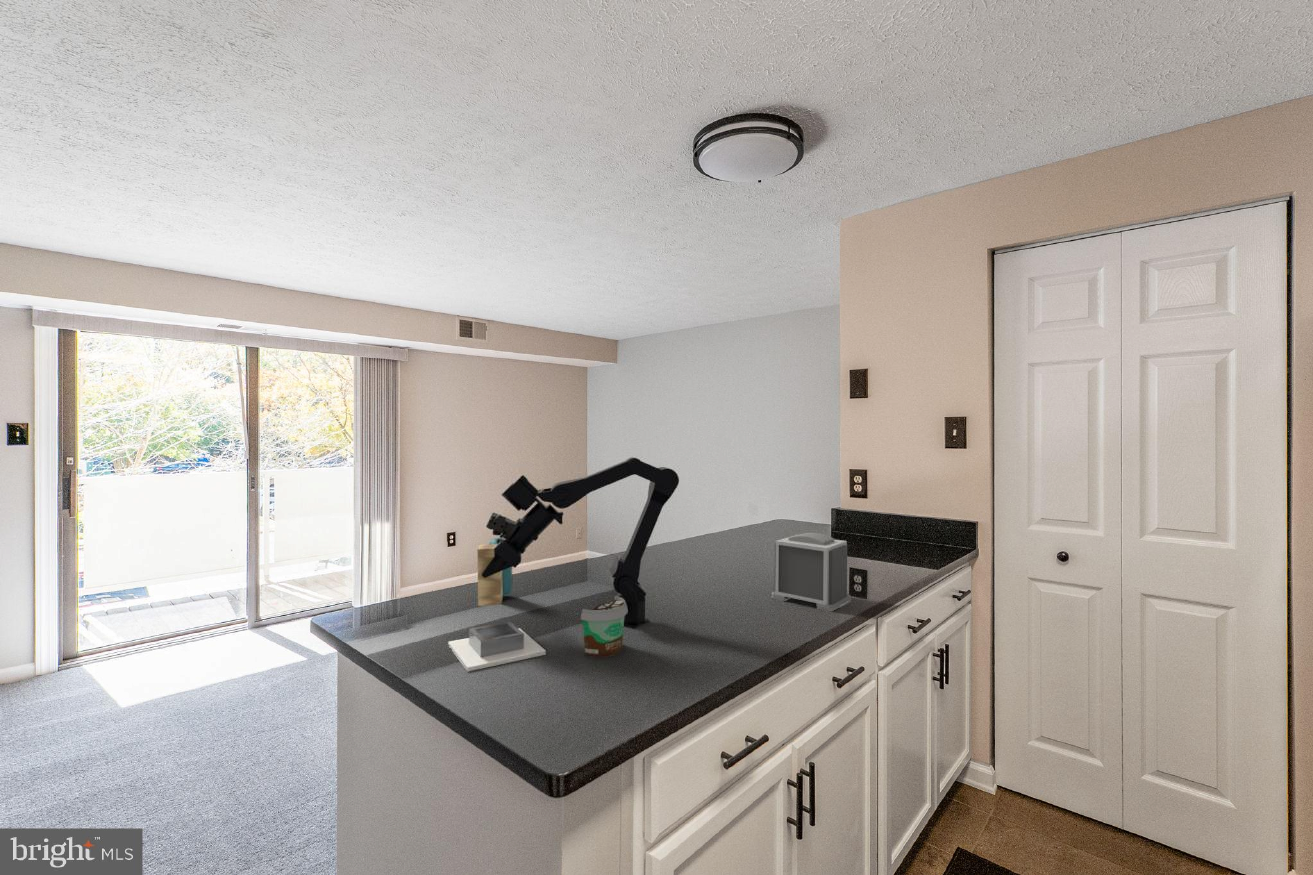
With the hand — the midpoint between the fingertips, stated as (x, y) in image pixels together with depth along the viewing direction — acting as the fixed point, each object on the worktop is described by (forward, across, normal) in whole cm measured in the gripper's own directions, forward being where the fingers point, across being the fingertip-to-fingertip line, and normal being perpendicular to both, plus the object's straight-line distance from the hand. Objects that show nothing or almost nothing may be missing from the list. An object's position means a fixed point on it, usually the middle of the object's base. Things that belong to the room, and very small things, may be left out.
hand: (484, 573), depth 132 cm
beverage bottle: (+8, -27, +11) cm, 30 cm away
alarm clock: (-51, -10, +71) cm, 88 cm away
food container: (-10, +18, +29) cm, 35 cm away
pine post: (+4, 0, +6) cm, 7 cm away
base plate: (+7, +12, +12) cm, 18 cm away
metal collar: (+7, +12, +12) cm, 18 cm away
